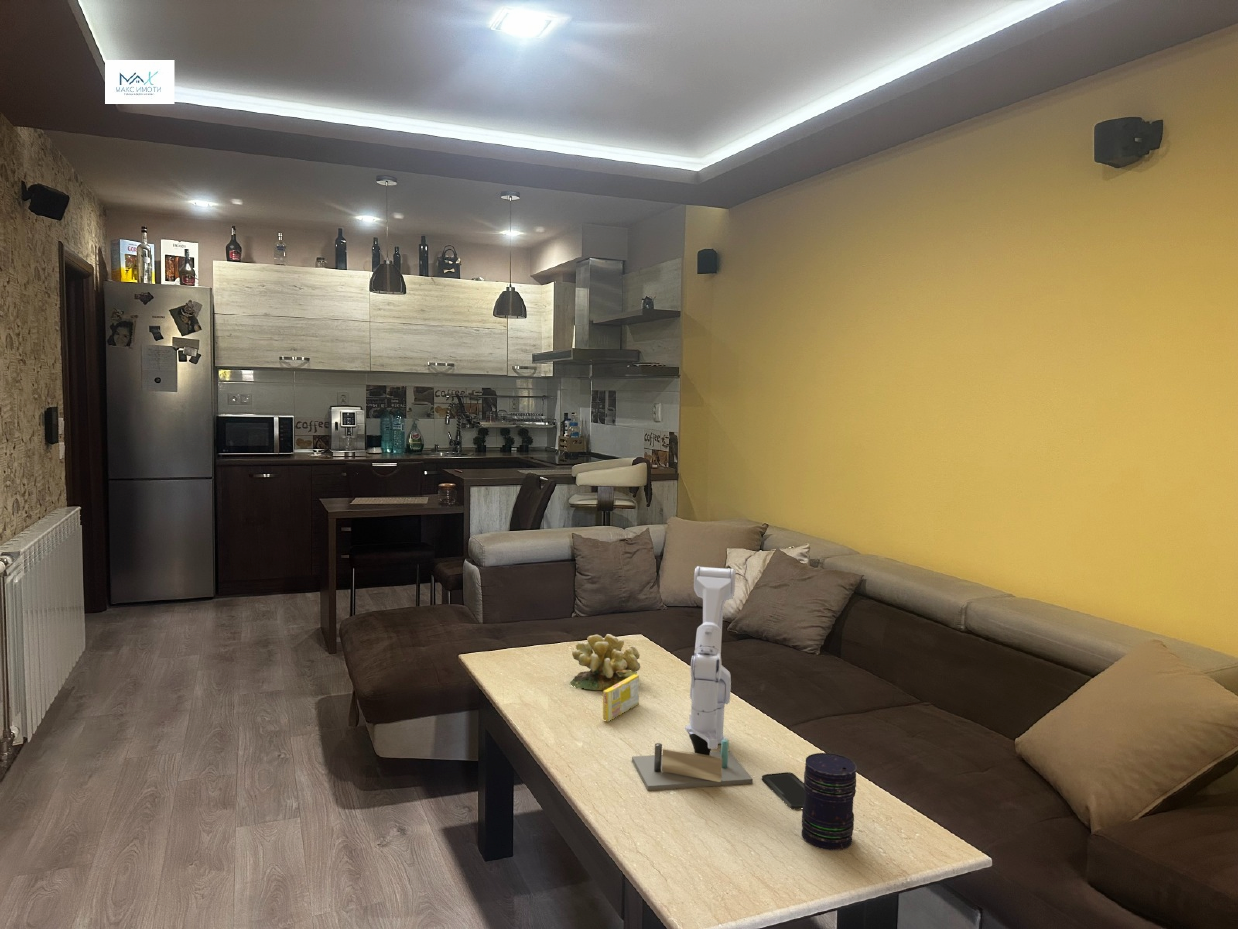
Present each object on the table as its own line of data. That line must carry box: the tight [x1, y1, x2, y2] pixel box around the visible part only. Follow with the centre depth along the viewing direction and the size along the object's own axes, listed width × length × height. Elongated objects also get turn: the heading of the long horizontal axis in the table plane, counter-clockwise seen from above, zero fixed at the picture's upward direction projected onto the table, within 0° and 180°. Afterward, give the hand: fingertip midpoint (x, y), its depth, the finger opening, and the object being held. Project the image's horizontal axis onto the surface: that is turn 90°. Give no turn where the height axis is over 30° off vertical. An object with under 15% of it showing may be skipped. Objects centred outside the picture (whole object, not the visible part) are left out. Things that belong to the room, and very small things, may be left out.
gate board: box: [631, 750, 754, 791], centre depth 191 cm, size 15×24×1 cm, turn 102°
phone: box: [761, 771, 805, 811], centre depth 183 cm, size 8×1×15 cm
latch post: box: [720, 739, 729, 768], centre depth 192 cm, size 2×2×7 cm
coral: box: [570, 633, 641, 691], centre depth 249 cm, size 19×23×15 cm
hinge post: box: [654, 742, 663, 772], centre depth 188 cm, size 2×2×7 cm
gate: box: [662, 747, 722, 782], centre depth 186 cm, size 1×13×5 cm, turn 70°
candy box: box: [602, 674, 640, 722], centre depth 225 cm, size 16×2×8 cm, turn 149°
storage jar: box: [801, 752, 857, 852], centre depth 164 cm, size 10×10×15 cm
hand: (701, 766), depth 187 cm, fingers closed, pressing on gate
